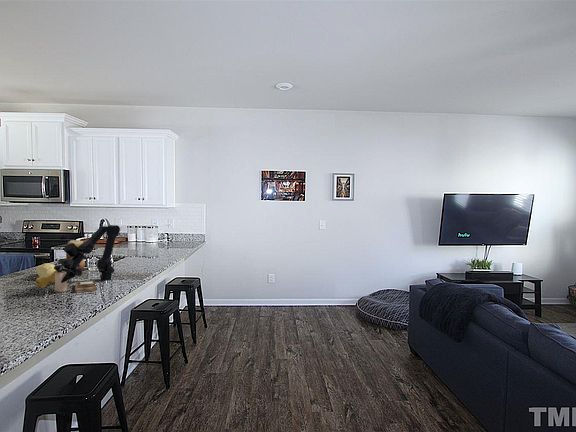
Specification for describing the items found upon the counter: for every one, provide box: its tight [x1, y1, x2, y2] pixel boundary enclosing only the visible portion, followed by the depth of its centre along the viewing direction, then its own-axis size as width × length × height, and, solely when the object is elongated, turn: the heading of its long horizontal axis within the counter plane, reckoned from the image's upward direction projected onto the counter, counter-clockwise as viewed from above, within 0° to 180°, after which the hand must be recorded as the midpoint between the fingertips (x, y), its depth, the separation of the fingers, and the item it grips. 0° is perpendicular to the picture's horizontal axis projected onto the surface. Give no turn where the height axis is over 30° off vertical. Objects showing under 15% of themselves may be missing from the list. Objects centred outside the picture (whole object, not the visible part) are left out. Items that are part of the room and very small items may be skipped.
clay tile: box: [79, 281, 93, 284], centre depth 233 cm, size 7×5×2 cm
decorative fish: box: [35, 271, 58, 289], centre depth 237 cm, size 22×3×10 cm, turn 168°
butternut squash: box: [63, 239, 86, 272], centre depth 272 cm, size 14×13×25 cm
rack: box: [74, 280, 97, 296], centre depth 227 cm, size 11×21×3 cm, turn 29°
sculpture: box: [36, 262, 56, 278], centre depth 255 cm, size 12×12×11 cm
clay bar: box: [54, 272, 68, 293], centre depth 220 cm, size 4×4×12 cm
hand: (58, 282), depth 218 cm, fingers closed on clay bar, 4 cm apart
